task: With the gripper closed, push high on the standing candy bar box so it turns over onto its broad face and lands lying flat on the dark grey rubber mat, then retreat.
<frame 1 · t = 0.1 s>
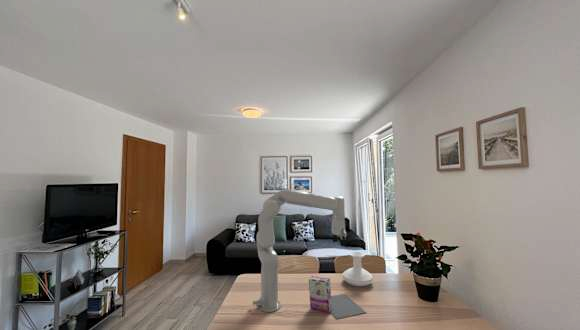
hand: (338, 243, 153), 31 cm above the table, fingers open, 9 cm apart
candy bar box: (321, 309, 135), on the table, touching mat
mat: (341, 305, 139), on the table
candle holder: (357, 282, 169), on the table
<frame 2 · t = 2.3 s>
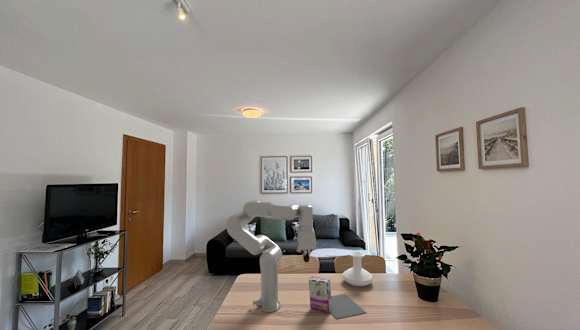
hand: (306, 261, 134), 27 cm above the table, fingers closed
nothing on the table moved.
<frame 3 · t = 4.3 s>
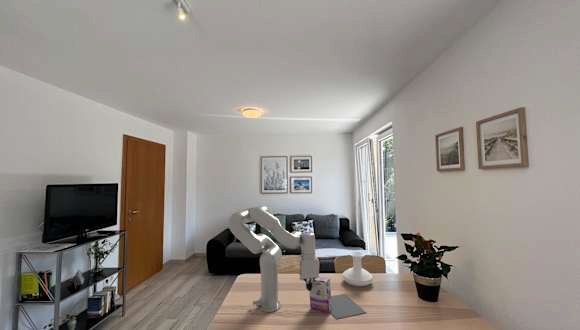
hand: (309, 289, 133), 12 cm above the table, fingers closed
nothing on the table moved.
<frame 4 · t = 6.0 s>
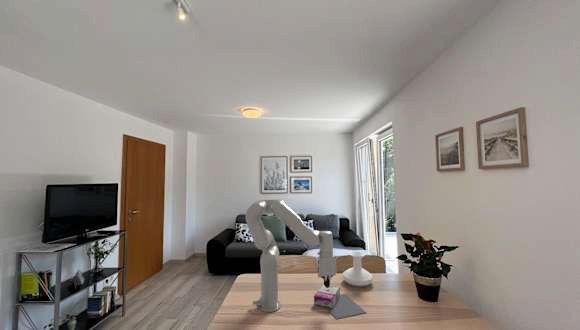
hand: (326, 286, 137), 12 cm above the table, fingers closed
candy bar box: (322, 302, 137), point 3 cm above the table, touching mat
everything else where it was.
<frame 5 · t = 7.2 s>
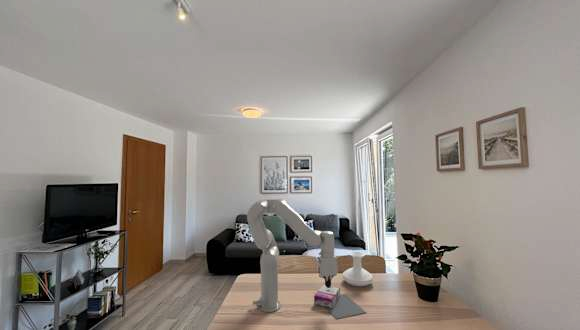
hand: (328, 286, 137), 12 cm above the table, fingers closed
nothing on the table moved.
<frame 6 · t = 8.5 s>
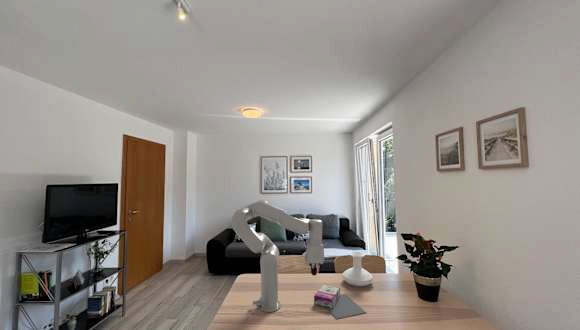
hand: (313, 274, 138), 18 cm above the table, fingers closed
nothing on the table moved.
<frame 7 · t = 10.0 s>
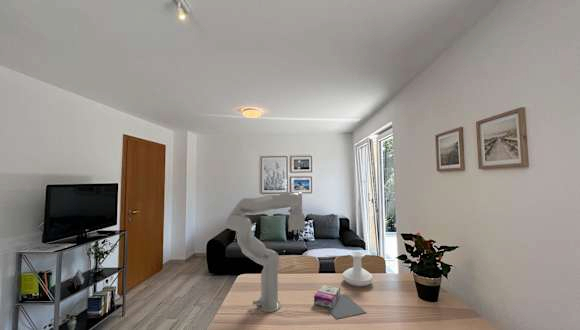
hand: (296, 240, 155), 33 cm above the table, fingers closed
nothing on the table moved.
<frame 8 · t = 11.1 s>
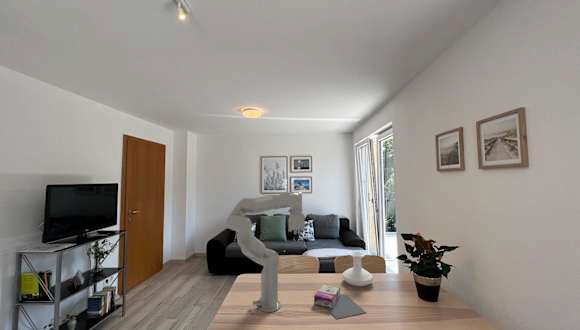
hand: (296, 240, 155), 33 cm above the table, fingers closed
nothing on the table moved.
at the end: candy bar box tilted 89°; candy bar box inside the target area (10.4 cm from its centre), point 2.8 cm above the table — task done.
